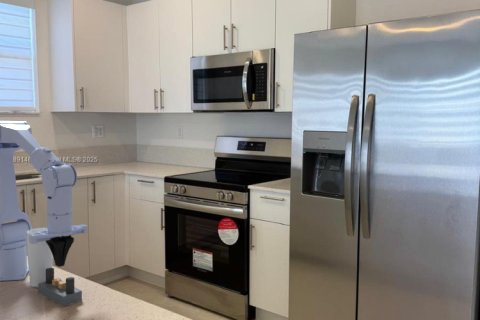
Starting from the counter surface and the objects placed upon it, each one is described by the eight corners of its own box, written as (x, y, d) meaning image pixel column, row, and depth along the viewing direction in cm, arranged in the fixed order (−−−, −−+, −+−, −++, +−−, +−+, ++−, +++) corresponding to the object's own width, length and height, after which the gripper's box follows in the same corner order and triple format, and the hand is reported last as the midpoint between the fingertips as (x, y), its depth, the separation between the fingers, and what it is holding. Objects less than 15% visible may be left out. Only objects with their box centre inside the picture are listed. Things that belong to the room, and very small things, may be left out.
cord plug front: (64, 292, 105) (64, 278, 104) (71, 289, 106) (71, 276, 106) (68, 294, 103) (68, 281, 103) (75, 292, 105) (76, 278, 105)
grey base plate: (38, 292, 110) (38, 283, 109) (56, 287, 114) (56, 278, 113) (63, 306, 102) (63, 296, 102) (81, 300, 106) (81, 290, 106)
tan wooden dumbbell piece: (51, 284, 108) (51, 279, 108) (58, 282, 110) (58, 277, 110) (61, 288, 106) (61, 284, 105) (67, 286, 107) (67, 282, 107)
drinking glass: (43, 290, 111) (43, 235, 110) (21, 287, 112) (20, 232, 111) (59, 281, 118) (59, 228, 116) (38, 278, 119) (37, 226, 117)
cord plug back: (44, 282, 110) (44, 269, 110) (51, 280, 112) (51, 267, 112) (48, 284, 109) (48, 271, 109) (55, 282, 111) (55, 269, 110)
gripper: (39, 220, 98) (39, 277, 99) (94, 211, 109) (94, 262, 110) (24, 215, 102) (25, 269, 103) (79, 206, 113) (79, 256, 115)
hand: (59, 265), depth 107 cm, fingers closed
